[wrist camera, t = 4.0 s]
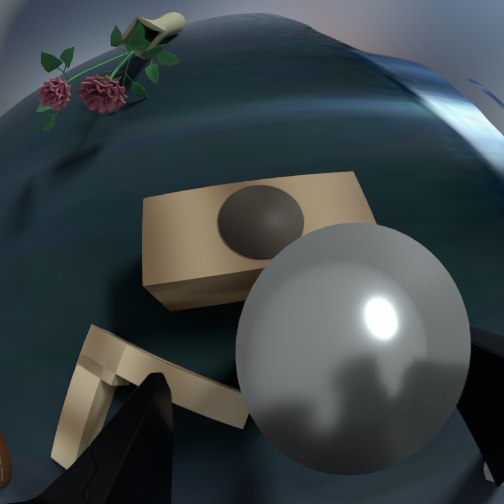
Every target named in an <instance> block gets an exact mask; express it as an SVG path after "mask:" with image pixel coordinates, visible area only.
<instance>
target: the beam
mask: <svg viewBox="0 0 504 504" xmlns="http://www.w3.org/2000/svg"><path fill="white" fill-rule="evenodd" d="M342 223H369V224H374V225H377V224H376V222H375V219H374V217H373V215H372V212H371V210H370V208H369V205H368V203H367V201H366V198H365V196H364V194H363V192H362V189H361V187H360V185H359V183H358V181H357V179H356V177H355V174H354V172H338V173H324V174H312V175H300V176H290V177H280V178H271V179H263V180H255V181H247V182H239V183H232V184H225V185H218V186H211V187H205V188H199V189H193V190H187V191H181V192H175V193H170V194H164V195H159V196H154V197H149V198H144V201H143V228H142V272H143V287H144V288H146V289H147V290H148V291H149V292H150V293H151V294H152V295H153V296H154V297H155V298H156V299H157V300H158V301H160V302H161V303H162V304H163V305H164V306H165V307H166V308H167V309H168V310H170V311H176V310H183V309H191V308H198V307H205V306H212V305H219V304H225V303H232V302H238V301H244V300H246V299H247V297H248V295H249V293H250V291H251V289H252V286H253V285H254V283H255V282H256V280H257V279H258V277H259V276H260V274H261V272H262V271H263V270H264V269H265V267H266V266H267V265H268V264H269V263H270V262H271V260H272V259H273V258H274V257H275V256H276V255H277V254H279V253H280V252H281V251H282V250H283V249H284V248H285V247H287V246H288V245H290V244H291V243H292V242H294V241H295V240H297V239H298V238H300V237H302V236H304V235H306V234H308V233H310V232H312V231H315V230H318V229H321V228H323V227H326V226H331V225H336V224H342Z"/></svg>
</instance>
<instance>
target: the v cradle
mask: <svg viewBox="0 0 504 504" xmlns="http://www.w3.org/2000/svg"><path fill="white" fill-rule="evenodd" d="M154 372H162V373H163V374H164V376H165V378H166V380H167V383H168V385H169V387H170V389H171V394H172V402H173V403H175V404H177V405H180V406H182V407H184V408H187V409H189V410H191V411H194V412H196V413H199V414H201V415H204V416H207V417H209V418H212V419H215V420H217V421H220V422H223V423H226V424H229V425H232V426H235V427H238V428H241V429H243V427H244V425H245V422H246V420H247V417H248V414H249V411H248V409H247V406H246V404H245V401H244V399H243V397H242V393H241V390H240V389H237V388H234V387H231V386H228V385H225V384H223V383H220V382H217V381H215V380H212V379H209V378H207V377H204V376H202V375H199V374H197V373H194V372H192V371H189V370H187V369H184V368H182V367H180V366H177V365H175V364H173V363H171V362H168V361H166V360H164V359H162V358H160V357H157V356H155V355H153V354H151V353H149V352H147V351H145V350H143V349H142V348H140V347H138V346H136V345H134V344H132V343H130V342H128V341H126V340H124V339H122V338H120V337H119V336H117V335H115V334H113V333H111V332H109V331H106V330H104V329H101V328H99V327H97V326H94V325H91V327H90V330H89V332H88V335H87V337H86V340H85V342H84V345H83V348H82V350H81V353H80V356H79V358H78V361H77V365H76V368H75V371H74V374H73V377H72V380H71V383H70V386H69V389H68V392H67V396H66V399H65V402H64V406H63V409H62V413H61V416H60V420H59V424H58V428H57V432H56V436H55V440H54V444H53V449H52V454H51V458H53V459H54V460H55V461H56V462H58V463H59V464H60V465H62V466H63V467H64V468H65V469H68V468H69V467H70V466H71V465H72V464H73V463H74V462H75V461H76V460H77V459H78V457H79V456H80V455H81V454H82V453H83V452H84V451H85V449H86V448H87V447H88V446H90V444H91V442H92V441H93V440H94V439H95V438H96V436H97V435H98V434H99V433H100V432H101V430H102V428H103V425H104V422H105V418H106V415H107V412H108V409H109V407H110V404H111V401H112V398H113V395H114V392H115V389H116V387H117V385H129V384H130V382H132V383H134V384H136V385H138V386H139V385H140V384H141V383H142V382H143V380H144V379H145V378H146V377H147V376H148V374H150V373H154Z"/></svg>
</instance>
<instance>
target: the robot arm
mask: <svg viewBox="0 0 504 504" xmlns="http://www.w3.org/2000/svg"><path fill="white" fill-rule="evenodd" d="M469 329H470V338H471V353H470V362H469V369H468V374H467V378H466V382H465V385H464V388H463V391H462V394H461V397H460V399H459V401H458V403H457V405H456V407H457V409H458V410H459V412H460V414H461V416H462V417H463V419H464V421H465V423H466V425H467V427H468V428H469V430H470V432H471V434H472V436H473V438H474V440H475V442H476V444H477V446H478V448H479V449H480V452H481V454H482V456H483V458H484V460H485V462H486V464H487V467H488V469H489V471H490V473H491V475H492V478H493V480H494V482H495V484H496V486H497V487H498V486H500V485H501V484H502V483H504V336H501V335H498V334H495V333H491V332H488V331H485V330H482V329H479V328H476V327H473V326H470V325H469ZM173 440H174V432H173V413H172V394H171V389H170V387H169V385H168V383H167V380H166V378H165V376H164V374H163V373H162V372H154V373H150V374H148V376H147V377H146V378H145V379H144V380H143V382H142V383H141V384H140V385H139V386H138V387H137V389H136V390H135V391H134V392H133V393H132V395H131V396H130V397H129V398H128V399H127V401H126V402H125V403H124V404H123V405H122V407H121V408H120V409H119V410H118V411H117V412H116V414H115V415H114V416H113V417H112V418H111V420H110V421H109V422H108V423H107V424H106V426H105V427H104V428H103V429H102V430H101V432H100V433H99V434H98V435H97V436H96V438H95V439H94V440H93V441H92V442H91V444H90V446H88V447H87V448H86V449H85V451H84V452H83V453H82V454H81V455H80V456H79V457H78V459H77V460H76V461H75V462H74V463H73V464H72V465H71V466H70V467H69V468H68V469H67V470H66V471H65V472H64V473H63V474H62V475H61V476H60V477H59V478H58V479H57V480H55V481H54V482H53V483H52V484H51V485H50V486H49V487H48V488H47V489H46V490H45V491H43V492H42V493H41V494H40V495H39V496H37V497H35V498H33V499H31V500H28V501H24V502H17V503H8V504H171V485H172V459H173Z"/></svg>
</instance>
